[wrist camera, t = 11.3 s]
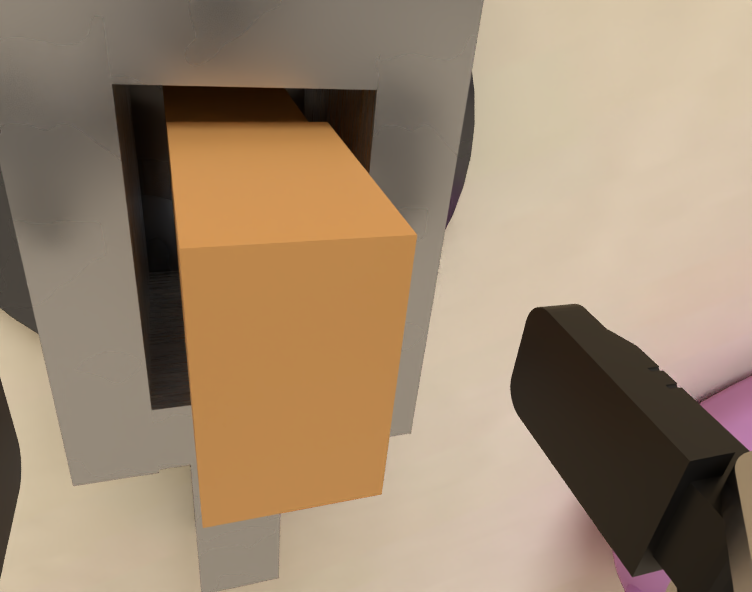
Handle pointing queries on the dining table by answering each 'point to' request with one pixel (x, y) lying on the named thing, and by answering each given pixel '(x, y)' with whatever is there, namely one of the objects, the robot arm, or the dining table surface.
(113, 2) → the bracket
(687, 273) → the dining table surface
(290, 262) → the orange block
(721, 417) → the teapot
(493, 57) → the dining table surface
